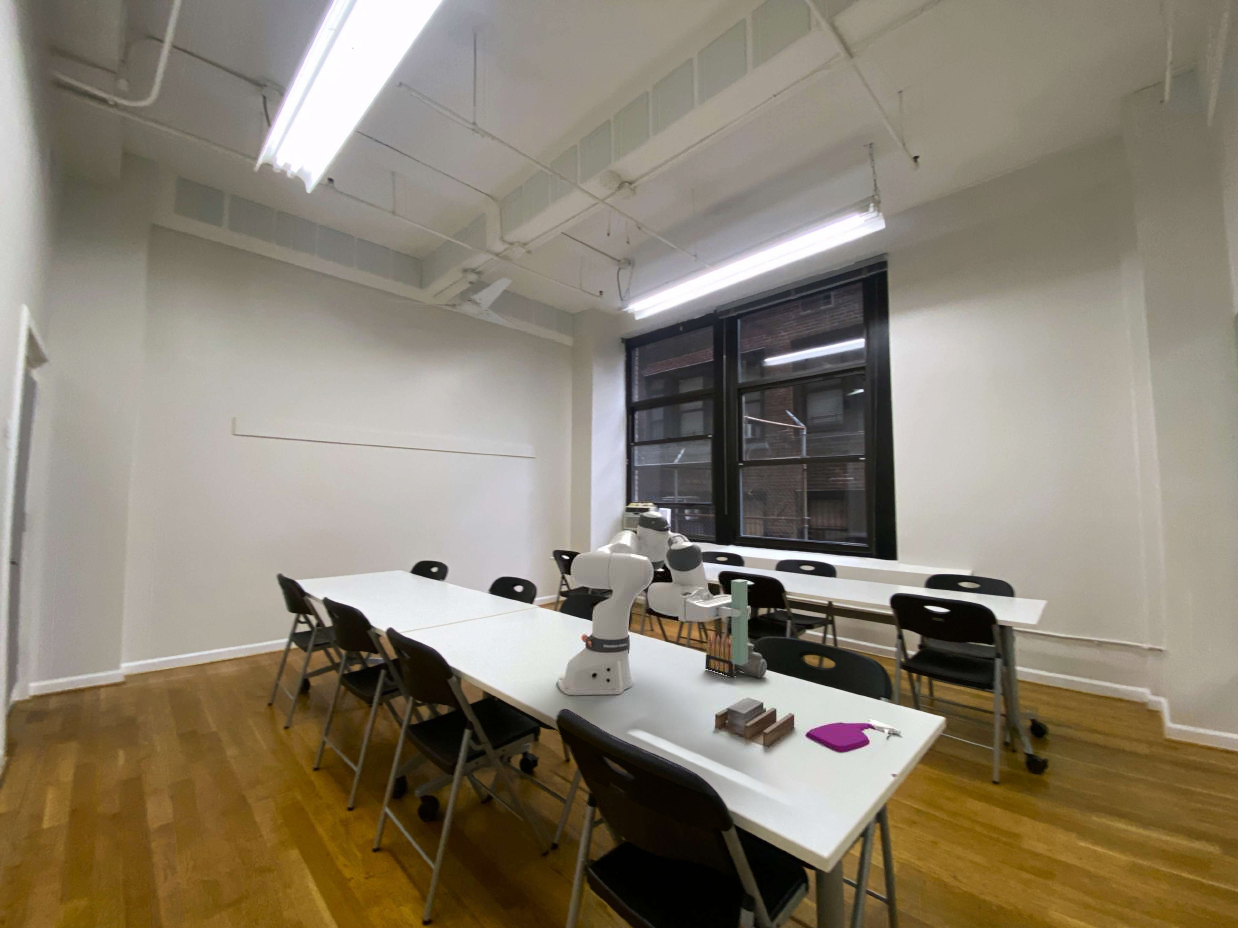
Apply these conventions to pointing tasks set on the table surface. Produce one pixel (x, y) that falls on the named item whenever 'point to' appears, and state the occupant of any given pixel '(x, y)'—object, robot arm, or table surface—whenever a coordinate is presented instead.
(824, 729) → the spray bottle
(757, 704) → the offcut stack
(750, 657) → the pipe fitting
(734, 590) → the tall board
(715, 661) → the ammunition clip
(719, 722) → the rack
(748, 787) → the table surface
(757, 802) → the table surface
